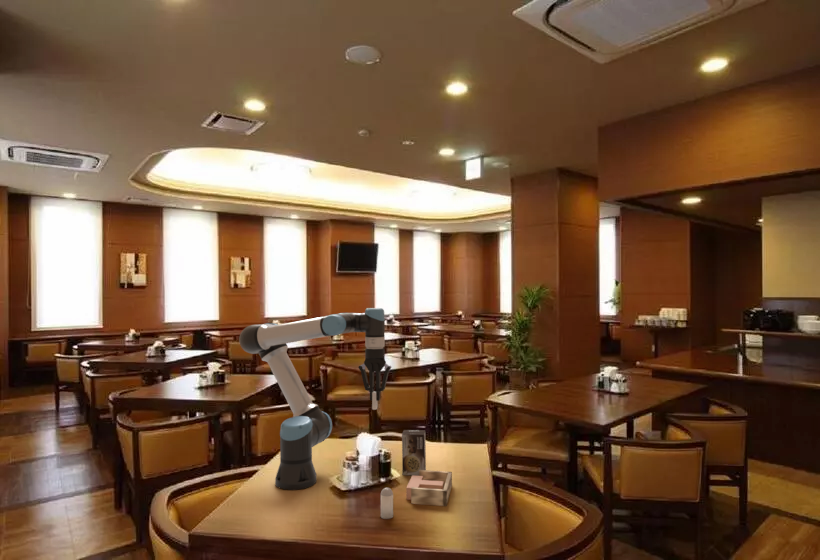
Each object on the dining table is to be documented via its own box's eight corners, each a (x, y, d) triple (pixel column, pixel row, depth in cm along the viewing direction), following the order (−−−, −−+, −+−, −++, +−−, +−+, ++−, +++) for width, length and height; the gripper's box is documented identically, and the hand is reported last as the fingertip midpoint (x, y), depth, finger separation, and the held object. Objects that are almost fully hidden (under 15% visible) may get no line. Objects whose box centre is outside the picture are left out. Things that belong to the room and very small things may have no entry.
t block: (406, 499, 173) (406, 487, 173) (412, 486, 185) (412, 475, 185) (440, 501, 171) (440, 489, 171) (444, 488, 183) (444, 477, 183)
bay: (411, 503, 170) (411, 488, 170) (419, 483, 188) (419, 469, 188) (446, 506, 168) (446, 491, 168) (451, 485, 186) (451, 471, 186)
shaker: (379, 518, 159) (379, 489, 159) (382, 512, 162) (382, 485, 163) (391, 519, 158) (391, 490, 158) (394, 513, 162) (394, 486, 162)
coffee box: (426, 470, 202) (426, 429, 202) (425, 476, 195) (424, 434, 196) (403, 469, 203) (403, 429, 203) (401, 475, 196) (401, 433, 197)
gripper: (356, 348, 193) (356, 410, 192) (389, 349, 190) (389, 411, 190) (361, 346, 200) (361, 406, 199) (393, 347, 198) (393, 407, 197)
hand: (374, 408), depth 195 cm, fingers closed
